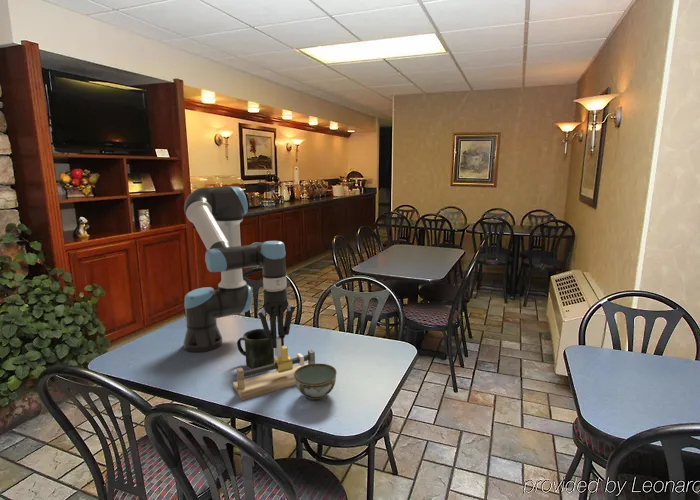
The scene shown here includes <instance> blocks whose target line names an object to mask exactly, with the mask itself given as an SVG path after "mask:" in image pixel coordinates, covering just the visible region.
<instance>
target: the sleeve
mask: <svg viewBox="0 0 700 500" xmlns="http://www.w3.org/2000/svg"><path fill="white" fill-rule="evenodd" d="M281 349H282V357H279V358H277V357H274V363H277V364H278V368H277V369H275V371H277V372H278V373H281V372H285V371H289V370H292V369H293V366H294V364H293V363H292V359H293V358H292V357H291V356H290V355H289V352H288V351H289V350H288V347H287V346H286V345H285V344H284V346H281Z"/></svg>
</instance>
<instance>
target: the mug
mask: <svg viewBox="0 0 700 500" xmlns="http://www.w3.org/2000/svg"><path fill="white" fill-rule="evenodd" d="M269 330H270V329H269ZM270 333H271V330H270ZM243 341H244V349H243V346H242V344H241V343H242V342H243ZM236 346H237V350H238V351H239V354H240V355H242V356H244V357H245V365H246V367H247V368H248V370H250V369H254V368H258V367H262V366H266V365H270V364H274V363H275V361H274V358H275V348H273V347H272V340H271V339H269V338H267V337H266V335H265V332H264V329H263V328H256V329H251V330H248V331H246V332H245V333H244V334H243V336H242V337H240V338H238V339H237V343H236Z"/></svg>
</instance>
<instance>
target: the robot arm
mask: <svg viewBox="0 0 700 500" xmlns="http://www.w3.org/2000/svg"><path fill="white" fill-rule="evenodd" d="M248 207H249V205H248V200H247V197H246V194H245V192H244V190H243V189H242V188H241V187H239V186H231V185H226V186H210V187H207V186H206V187H205V186H204V187H199V188H196V189H195V190H192V192H191V193H189V195H187V197H186V199H185V202H184V205H183V210H184V215H185V216H186V219H187V220H188V221H189V222H190V223H192V224H193V226H194V227H195V230H196V231H197V233H198V236H199V237H200V239H201V241H202V242H203V245H204V247H205V249H206V251H205V254H204V261H205V264H206V269H207V270H208V271H209V272H210V273H218V272H219V273H220V274H221V276H220V279H221V280H220V282H219V283H218V284H217V288H218V289H214V288H213V287H211V286H207V287H200V288H195V289H193V290H191V291H189V292H187V293H186V295H184V306H183V307H184V312H185V321H186V332H185V336H184V340H183V348H184V350H185V351H187V352H191V353H203V352H208V351H212V350H215V349H217V348H219V347H220V346H222V345H223V336H222V334H221V332H220V329H219V328H218V327H219V326H218V325H217V319H220V318H224V317H230V316H235V315H240V314H244V313H246V312H248V311H250V309H251V307H252V304H253V293H252V288H251V286H250V285H249V284H247V281H246V280H244V279H243V277H244V276H243V269H248V268H255V267H261V268H262V285H263V286H262V287H263V289H264V290H263V305H262V309H260V310H257V311H256V314H257V315H258V317H259V319H260V322H261V325H262V329H264V332H265V335H266V337H267V338H269V339H271V340H272V347H273V348H274V356H275V358H279V357H282V349H281V346H284V345H285V342H284V341H285V338H286V336H289V334H290V329H291V325H292V319H293V314H294V312H295V310H296V307H295V305H293V304H290V302H289V300H288V289H287V266H286V265H287V262H286V258H287V257H286V256H287V255H286V254H287V252H286V246H285V243H284V242H283V241H280V240H267V241H263V242H260V241H259V242H258V241H256V242H253V243H251V244H247V245H242V241H241V229H240V228H241V227H240V226H241V225H240V223H242V222H243V220H244V215H246V214H248V209H249V208H248ZM285 312H286V313H285ZM266 313H267V314H268V316H269V324H270V325H269V324H268V321H267V318H266ZM284 314H285V318H284ZM270 330H271V333H270Z"/></svg>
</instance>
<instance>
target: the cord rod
mask: <svg viewBox="0 0 700 500" xmlns="http://www.w3.org/2000/svg"><path fill="white" fill-rule="evenodd" d="M303 356H304V362H306V361H307V362H308V360H310V356H309V355H308V354H305V355H303ZM292 363H293V365H295V364H296V365H297V364H298V363H300V359H299V358H298V357H297V356H296V357H294V358H292ZM277 368H278V364H277V363H275V362H274V364H270V365H266V366H262V367H258V368H254V369H247V370H244V378H246V377H250V376H255V375H259V374H261V373H265V372H269V371H270V372H271V371H273V370H276V369H277Z"/></svg>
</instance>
